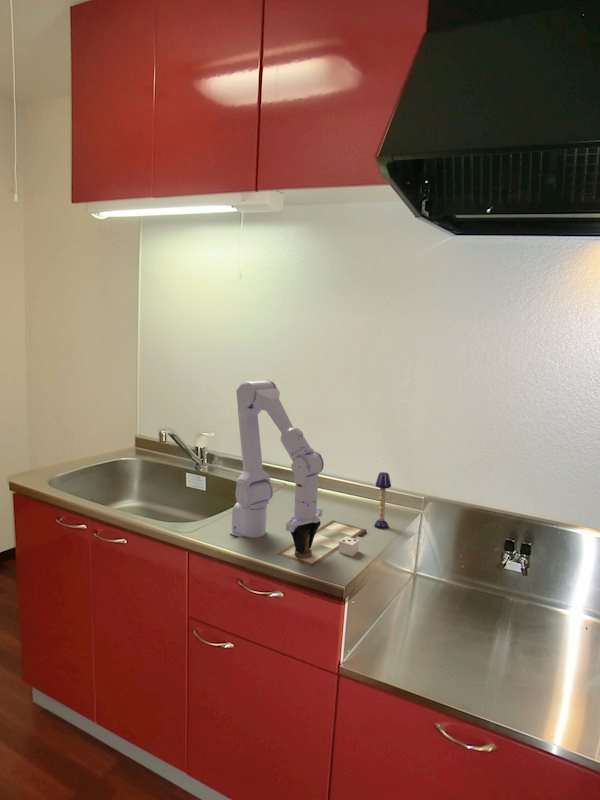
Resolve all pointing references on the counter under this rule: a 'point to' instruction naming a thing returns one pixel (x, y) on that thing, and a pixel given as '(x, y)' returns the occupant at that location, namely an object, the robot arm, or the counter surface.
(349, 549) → the die
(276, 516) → the counter surface
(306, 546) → the pawn
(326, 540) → the game board
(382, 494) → the toy lamp
